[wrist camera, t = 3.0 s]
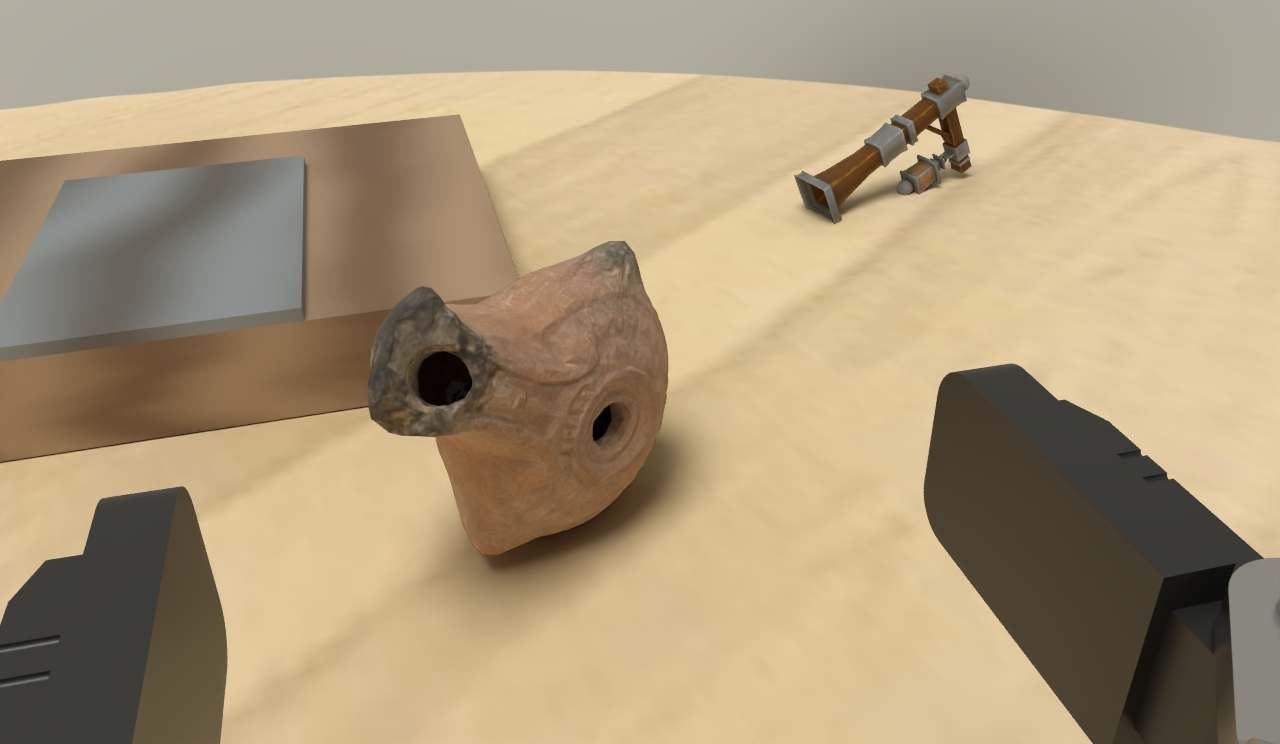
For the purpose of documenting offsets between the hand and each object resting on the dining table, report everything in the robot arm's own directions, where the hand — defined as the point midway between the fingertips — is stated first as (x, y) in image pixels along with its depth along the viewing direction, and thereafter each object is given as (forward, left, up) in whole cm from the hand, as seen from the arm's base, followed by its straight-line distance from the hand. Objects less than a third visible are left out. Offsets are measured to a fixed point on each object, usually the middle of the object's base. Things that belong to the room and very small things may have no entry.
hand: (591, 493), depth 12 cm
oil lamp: (-1, -11, -10) cm, 15 cm away
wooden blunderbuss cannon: (-17, -28, -10) cm, 35 cm away
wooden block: (+8, -26, -10) cm, 29 cm away
